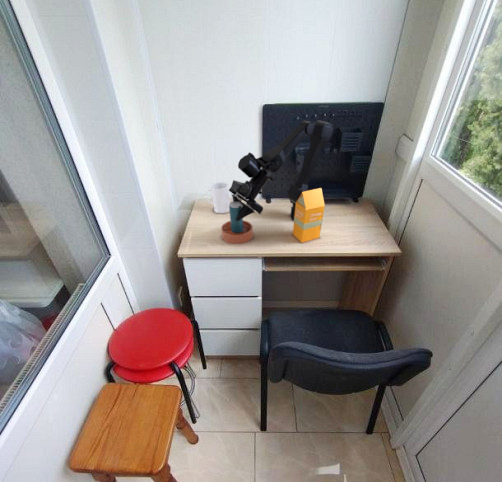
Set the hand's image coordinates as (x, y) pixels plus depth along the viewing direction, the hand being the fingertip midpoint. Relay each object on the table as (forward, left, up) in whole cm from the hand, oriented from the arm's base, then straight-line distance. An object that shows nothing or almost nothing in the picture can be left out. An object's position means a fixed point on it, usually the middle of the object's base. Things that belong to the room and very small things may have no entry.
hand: (233, 217), depth 115 cm
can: (-1, -1, -6) cm, 6 cm away
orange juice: (-31, 0, -10) cm, 32 cm away
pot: (-1, -1, -9) cm, 10 cm away
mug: (+9, -27, -10) cm, 30 cm away
